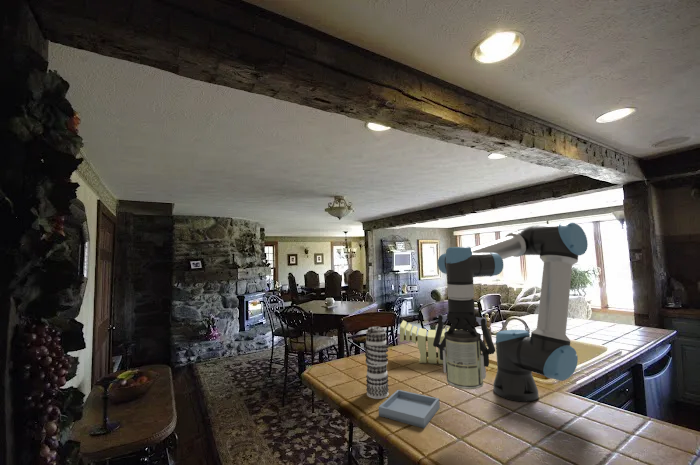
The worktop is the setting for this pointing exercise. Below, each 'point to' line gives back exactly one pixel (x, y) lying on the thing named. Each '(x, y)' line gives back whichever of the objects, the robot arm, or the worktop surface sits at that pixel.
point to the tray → (409, 408)
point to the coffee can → (463, 360)
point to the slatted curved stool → (422, 342)
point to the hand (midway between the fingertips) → (464, 374)
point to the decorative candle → (376, 363)
